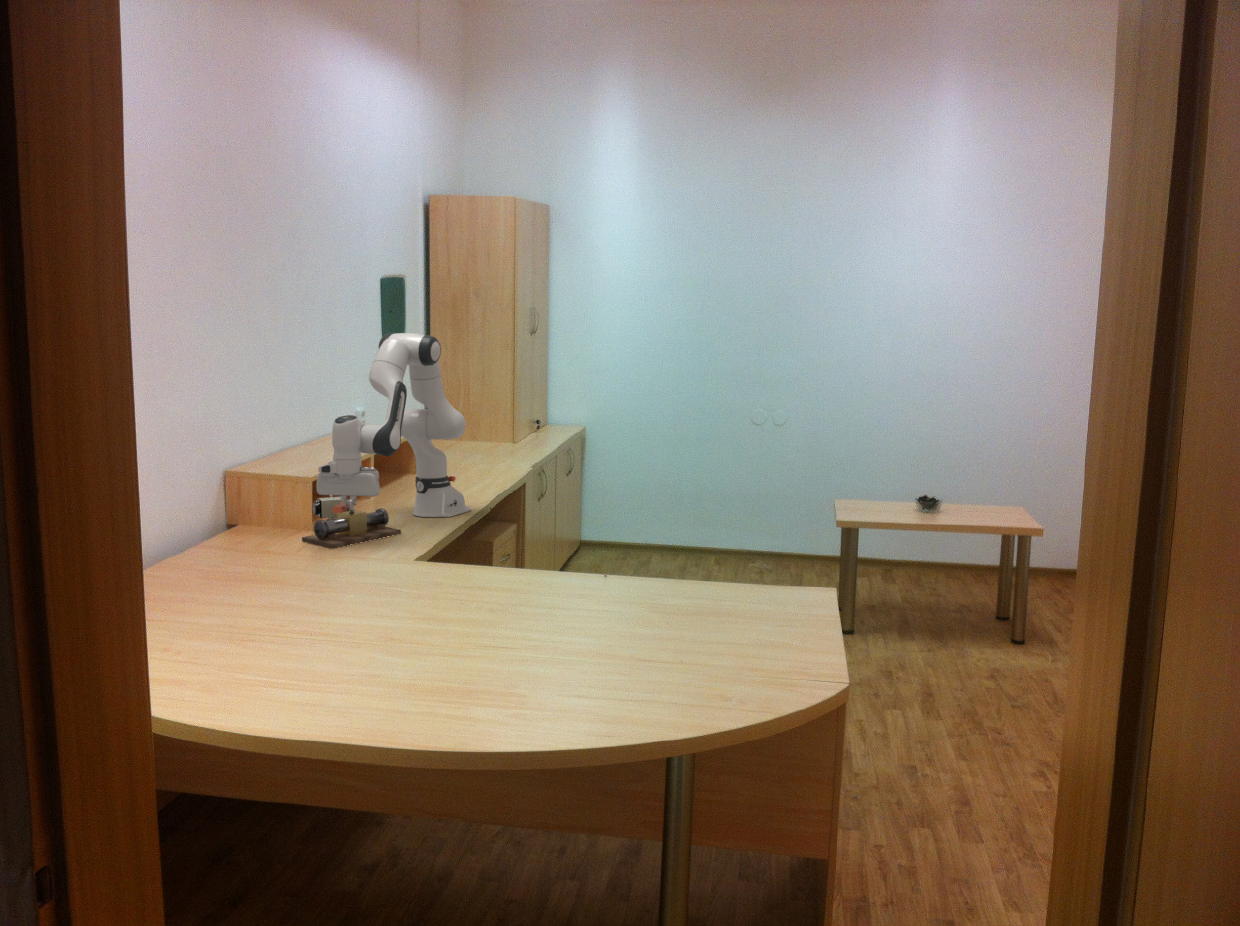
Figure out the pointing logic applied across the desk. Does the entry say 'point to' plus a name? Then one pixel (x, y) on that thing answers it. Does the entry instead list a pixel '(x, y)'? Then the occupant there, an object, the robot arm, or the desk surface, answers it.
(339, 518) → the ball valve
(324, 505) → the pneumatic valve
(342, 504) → the valve lever
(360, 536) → the dark brown base board
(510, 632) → the desk surface
